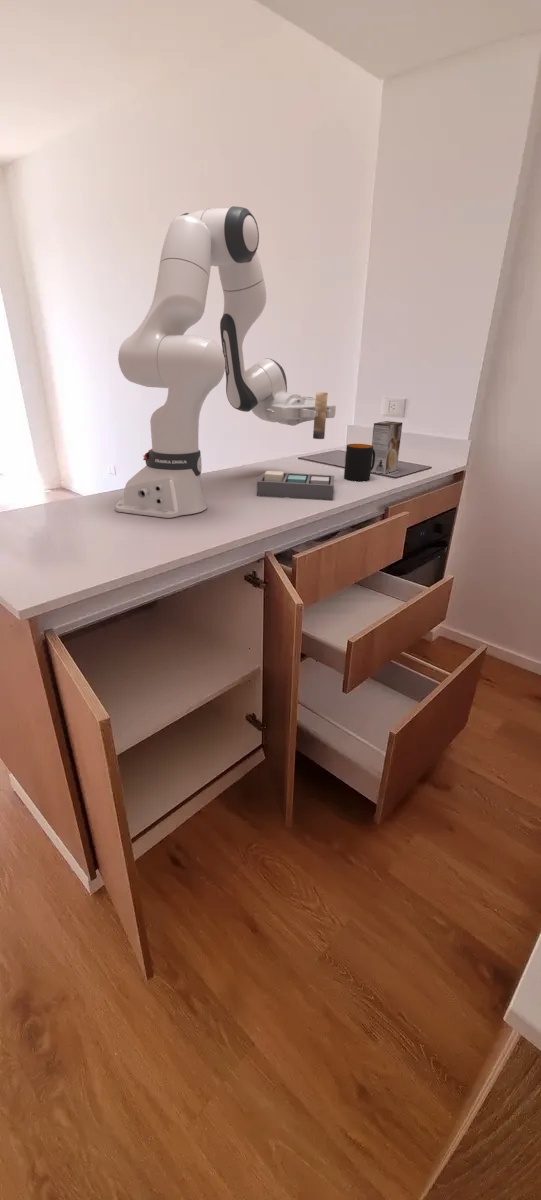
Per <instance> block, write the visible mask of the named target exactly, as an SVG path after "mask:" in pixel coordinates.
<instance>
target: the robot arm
mask: <svg viewBox="0 0 541 1200" xmlns="http://www.w3.org/2000/svg"><path fill="white" fill-rule="evenodd" d="M259 232H260V231H259V227H258V223H257V221H256V218H255V216H254V215H253V214H252V212H251V211H250V210H249V209H248V208H246V207H242V206H230V207H227V208H226V207H224V208H223V207H217V208H216V207H215V208H212V207H211V208H205V209H204V208H203V209H200V210H196V211H192V212H190V213H189V212H186V213H182V214H181V215H178V216H177V217H174V219H172V221H171V222H170V224H169V226H168V230H167V231H166V235H165V239H164V242H163V245H162V249H161V254H160V259H159V266H158V273H157V278H156V279H157V280H156V285H155V290H154V294H153V299H152V302H151V305H150V307H149V309H148V311H147V314H146V315H145V317H144V319H143V320H142V323H141V322H140V323H141V324H139V326H138V328H137V329H136V330H135V331H134V332H133V333H132V334H131V335H130V336H128V337H127V338H125V339H124V340H123V341H122V343H121V344H120V347H119V350H118V354H117V357H118V358H117V359H118V360H117V362H118V366H119V369H120V371H121V373H122V375H123V377H124V378H125V379H126V380H127V381H128V382H130V383H132V384H136V385H140V386H143V387H147V388H157V389H158V388H160V389H161V388H162V389H167V390H168V391H167V397H166V401H165V403H164V404H163V405H161V406H160V407H159V408H157V409H155V410H154V412H152V414H151V415H150V416H151V417H150V420H149V422H150V434H151V436H150V437H151V448H150V449H149V450H148V451H147V452H146V453H145V454H144V455H142V457H143V461H145V466H144V467H142V469H140V470H139V471H138V472H137V473H136V474H134V475H133V476H132V477H131V478H130V479H129V480H128V481H127V482H126V483H125V487H124V492H123V498H122V499H120V500H119V501H117V502H116V503H115V507H114V508H115V511H116V512H119V513H125V514H126V513H127V514H132V515H133V514H135V515H142V516H151V517H156V518H157V517H159V518H164V519H165V518H168V519H169V518H175V517H180V516H187V515H192V514H197V513H200V512H201V513H202V512H203V511H205V510H206V509H208V504H207V502H206V499H205V494H204V491H203V486H202V478H201V474H202V455H201V453H202V452H201V450H200V449H199V427H200V426H199V425H200V423H199V421H200V414H201V411H202V407H203V404H204V403H205V400H206V398H207V397H208V395H209V394H210V393H211V392H212V390H213V389H215V388H216V387H217V386H218V385H219V384H220V382H221V381H222V379H223V377H224V375H225V378H226V379H225V380H226V381H225V382H226V383H225V390H226V391H225V393H226V397H227V401H228V403H229V404H230V406H232V407H233V409H235V410H237V411H241V412H243V413H244V412H246V413H247V412H250V411H251V412H252V413H253V414H254V415H255V416H256V417H257V418H259V419H261V420H262V421H267V422H270V423H279V424H281V425H287V426H297V425H299V424H302V423H304V422H310V421H314V418H317V417H318V411H316V410H315V400H316V397H311V396H303V395H301V394H298V393H291V392H288V385H287V384H288V383H287V381H288V380H287V376H286V372H285V370H284V368H283V366H281V365H280V363H279V362H277V361H276V360H274V359H272V358H268V357H266V358H263V359H261V360H260V361H258V362H257V363H255V364H254V365H252V366H250V367H249V368H248V369H245V362H244V360H245V359H244V352H243V343H244V340H245V337H246V336H247V334H248V332H249V331H250V329H251V327H252V326H253V324H255V322H256V321H257V319H259V317H260V316H261V315H262V314H263V311H264V310H265V306H266V304H267V289H266V288H267V287H266V283H265V277H264V273H263V270H262V269H263V268H262V266H261V261H260V258H259V255H258V252H257V250H258V248H259V243H260V233H259ZM211 267H217V268H218V274H219V278H220V279H219V280H220V285H221V287H222V292H223V311H222V312H223V313H222V317H221V318H220V322H219V331H220V339H221V346H220V344H219V343H218V342H217V341H216V340H213V339H210V338H206V337H204V336H203V337H202V336H199V335H194V334H192V335H190V334H188V335H187V334H185V333H186V332H187V331H188V330H189V329H190V328H191V327H192V326H194V325H196V324H197V323H198V322H199V321H200V320H201V319H202V317H203V316H204V313H205V307H206V302H207V295H208V289H209V282H210V277H211ZM336 410H337V409H336V405H335V404H334V403H331V402H328V401H327V409H326V419H334V418H335V416H336Z"/></svg>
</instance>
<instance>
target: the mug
mask: <svg viewBox="0 0 541 1200" xmlns="http://www.w3.org/2000/svg"><path fill="white" fill-rule="evenodd" d="M372 454H373V460H372ZM374 463H375V451H374V449H373V446H372V444H364V443H349V444H347V445H346V450H345V461H344V470H343V471H344V472H343V473H344V474H343V479H344V480H345V481H349V482H355V481H356V483H357V482H358V483H359V482H361V483H363V481H365V482H368V481H370V479H371V473H372V472H371V470H372V469H373V467H374ZM371 464H372V466H371Z"/></svg>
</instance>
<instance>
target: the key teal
mask: <svg viewBox="0 0 541 1200" xmlns="http://www.w3.org/2000/svg"><path fill="white" fill-rule="evenodd" d="M287 482H290V483H306V476H298V475H289V476H288V479H287Z"/></svg>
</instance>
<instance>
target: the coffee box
mask: <svg viewBox="0 0 541 1200" xmlns="http://www.w3.org/2000/svg"><path fill="white" fill-rule="evenodd" d="M402 428H403V422H399V421H391V420H388V421H387V420H385V421H380V422H375V423H373V429H372V441H371V446H373V449H374V451H375V463H374V467H373V469H372V470H371V473H373V472H376V473H375V474H379V473H383V474H382V475H387V474H386V473H388V474H390V473H394V472H396V471H397V470H398V462H399V455H400V445H401V438H402ZM372 460H373V454H372ZM371 466H372V464H371ZM389 472H390V473H389Z"/></svg>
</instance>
